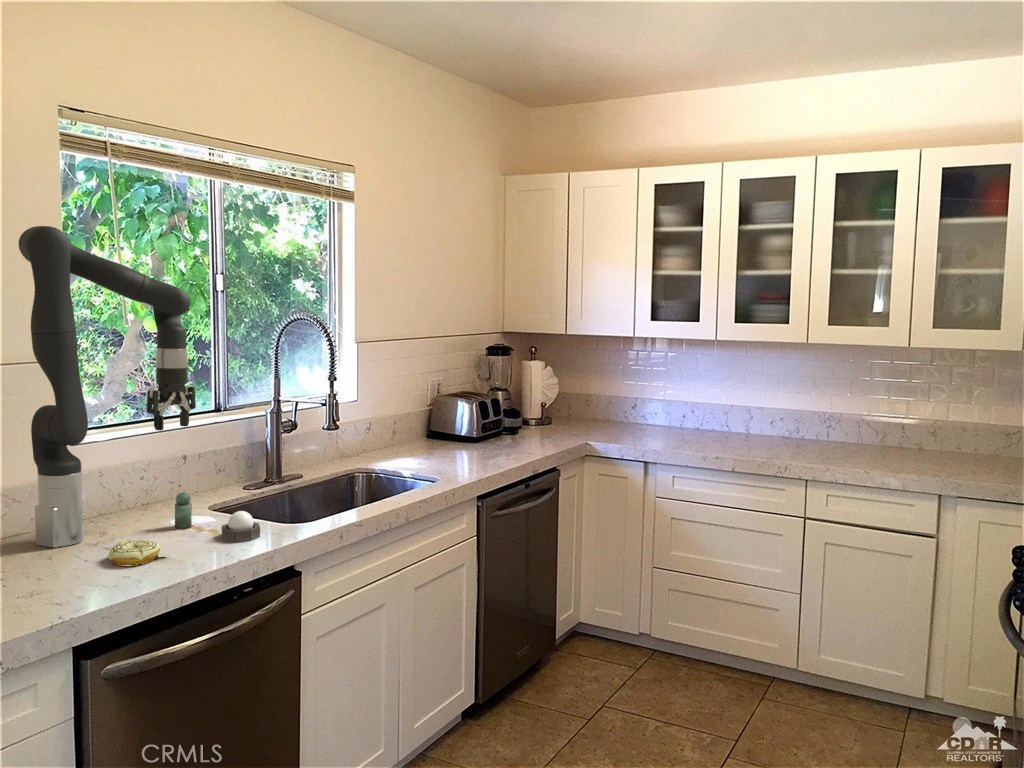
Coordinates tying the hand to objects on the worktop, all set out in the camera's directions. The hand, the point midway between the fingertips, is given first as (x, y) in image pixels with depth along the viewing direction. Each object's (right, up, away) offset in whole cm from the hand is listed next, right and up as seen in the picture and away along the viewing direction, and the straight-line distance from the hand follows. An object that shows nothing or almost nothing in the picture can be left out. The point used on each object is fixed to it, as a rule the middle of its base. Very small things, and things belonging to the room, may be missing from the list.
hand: (171, 428), depth 215 cm
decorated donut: (+2, -29, -25) cm, 38 cm away
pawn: (+4, -25, -2) cm, 26 cm away
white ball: (+21, -26, -9) cm, 34 cm away
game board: (+13, -27, -6) cm, 31 cm away
